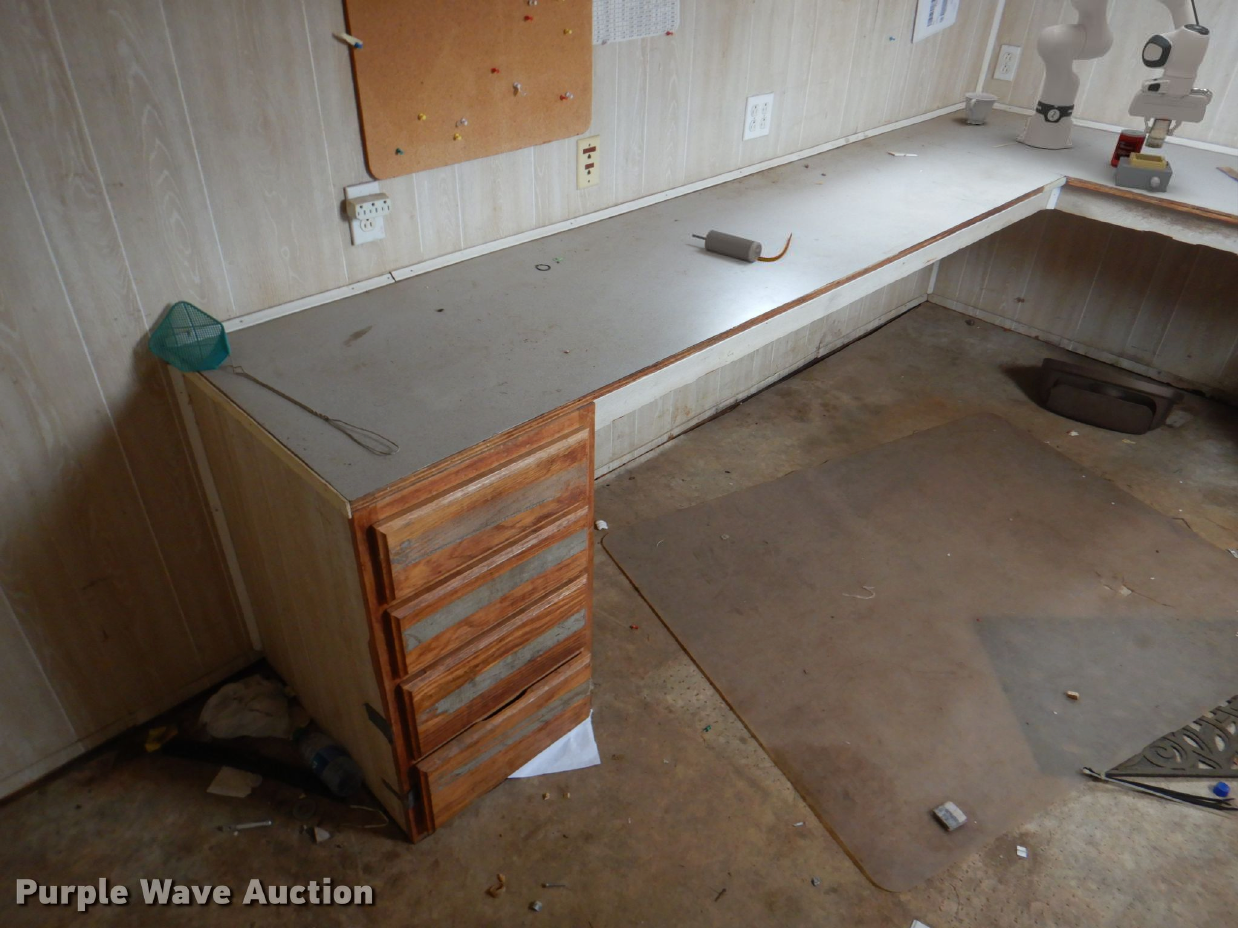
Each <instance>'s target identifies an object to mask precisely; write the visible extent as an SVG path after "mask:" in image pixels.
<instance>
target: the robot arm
mask: <svg viewBox="0 0 1238 928" xmlns="http://www.w3.org/2000/svg"><path fill="white" fill-rule="evenodd" d="M1156 1H1157V2H1160V4H1163V6H1165V7H1166V8H1167V9H1168V10H1169V12H1170V15H1171V17H1172V22H1173V28H1174V30H1173V31H1169V32H1163V33H1159V34H1155V35H1153V36H1151V37H1150V38H1149V39H1148V40H1147V41H1146V43H1145V44H1144V46H1143V48H1142V51H1141V61H1142V63H1143V65H1144V66H1145V67H1146V68H1150V69H1152V70H1153V69H1156V70H1158V69H1159V70H1160V69H1162V70H1163V73H1162V75H1161V76H1160V77H1155V78H1150V79H1146V80H1143V82H1142V83H1141V89H1139V90H1137V92H1136V93H1135V95H1134V96H1133V98H1132V101H1130V104H1129V107H1128V110H1127V111H1128V114H1129V116H1131V117H1139V118H1140V117H1141V118H1144V119H1143V121H1144V126H1145V127H1144V131H1143V132H1144V133H1146V134H1149V133H1150V130H1151V127H1152V126H1151V125H1150V126H1149V124H1148V122H1150V121H1151V119H1155V118H1157V119H1169V120H1172V121H1175V124H1174V126H1173V127H1172V128H1169V131H1168V134H1167V136H1166V137H1169V136H1170V137H1173V135H1174V133H1175V131H1176V130H1177V129H1178V128H1179V127H1181V125H1182V123H1183V122H1185V123H1186V122H1187V123H1195V124H1200V123H1201V122H1202V121H1203V120H1204V118H1205V114H1206V111H1207V107H1208V105H1209V104H1210V103H1211V101H1212V99H1213V92H1212V91H1210V89H1208V88H1197V87H1194V85H1195V82H1196V80H1197V76H1198V71H1199V67H1200V66H1201V64H1202V63H1203V61H1204V58H1205V56H1206V53H1207V49H1208V47H1209V43H1210V37H1211V32H1210V29H1208V28H1207V27H1205V26H1204V25H1200V22H1199V18H1198V12H1197V9H1196V5H1195V1H1194V0H1156ZM1070 3H1071V6H1072V7H1073V9H1074V10H1075V11H1076V12H1077V13H1078V18H1077V23H1060V24H1059V23H1058V24H1055V25H1050V26H1047V27H1045V28H1044V29H1043V30H1042V31H1041V33H1040V34H1039V35H1038V38H1037V40H1036V41H1037V42H1036V51H1037V54H1038V55H1039V56H1040V58H1041V59H1042V61H1043V64H1044V67H1045V80H1044V84H1043V86H1042V87H1043V88H1042V91H1041V95H1040V98H1039V100H1038V101H1037V103H1036V108H1035V112H1034V114H1032V115H1031V116H1029V118H1028V119H1027V120H1026V123H1025V128H1024V132H1023V133H1021V134H1020V135H1019V136H1017V138H1016V142H1019V143H1023V144H1025V145H1028V146H1031V147H1036V148H1040V149H1041V148H1042V149H1050V150H1055V149H1056V150H1058V149H1059V150H1060V149H1068V148H1069V149H1070V148H1071V149H1072V148H1073V146H1074V144H1073V143H1072V141H1071V140H1070V138H1071V137H1070V136H1071V133H1072V130H1073V126H1074V122H1073V120H1072V117H1071V116H1072V115H1073V112H1074V109H1075V101H1076V97H1077V95H1078V92H1079V88H1080V86H1081V79H1080V76H1078V75H1077V73H1075V72H1074V71H1073V63H1074V61H1085V60H1086V61H1089V60H1090V61H1091V60H1095V59H1099V58H1101V57H1104V56H1106V55H1107V54H1108V52H1110V50H1111V48H1112V46H1113V43H1114V31H1113V30H1112V28H1111V27H1110V25H1109V23H1108V18H1107V8H1108V3H1109V0H1070Z"/></svg>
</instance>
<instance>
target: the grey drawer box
mask: <svg viewBox="0 0 1238 928" xmlns="http://www.w3.org/2000/svg"><path fill="white" fill-rule="evenodd" d="M1173 173H1174V172H1173V168H1172V166H1171V164H1170V162H1169V161H1168V160H1166V158H1165V156H1163V155H1156V154H1148V153H1142V152H1140V153H1133V152H1131V154H1130V157H1129V158H1127V157H1121V158H1120V160H1119V163H1118V166H1117V168H1116V169H1115V172H1114V175H1113V177H1114V178H1113V179H1114V182H1115V186H1116V187H1117V186H1118V187H1124V188H1132V189H1139V190H1146V191H1154V192H1162V193H1166V191H1167V188H1168V186H1169V183H1170V180H1172V176H1173Z"/></svg>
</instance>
